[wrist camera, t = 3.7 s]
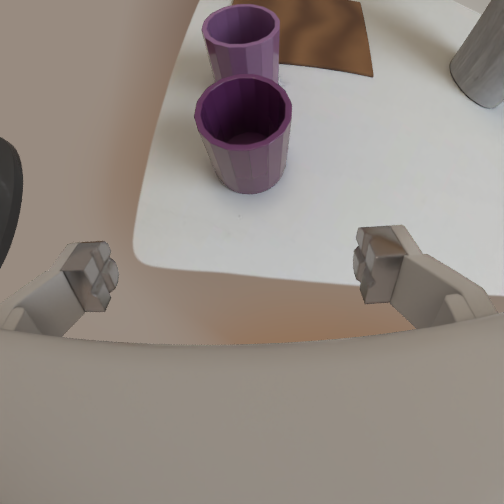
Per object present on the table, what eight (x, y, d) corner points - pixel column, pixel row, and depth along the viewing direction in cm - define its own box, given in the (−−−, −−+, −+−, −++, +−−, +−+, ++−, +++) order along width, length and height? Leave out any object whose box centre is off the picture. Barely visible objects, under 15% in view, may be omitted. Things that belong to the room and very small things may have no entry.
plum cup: (201, 160, 32) (176, 109, 22) (253, 120, 32) (248, 61, 22) (245, 208, 31) (236, 169, 21) (299, 164, 31) (311, 112, 21)
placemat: (217, 61, 34) (216, 59, 33) (236, -9, 36) (236, -10, 36) (372, 77, 33) (373, 75, 32) (359, 4, 35) (360, 2, 35)
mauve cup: (204, 83, 33) (187, 26, 24) (250, 54, 34) (245, -4, 24) (243, 117, 32) (234, 58, 22) (290, 84, 33) (296, 25, 23)
